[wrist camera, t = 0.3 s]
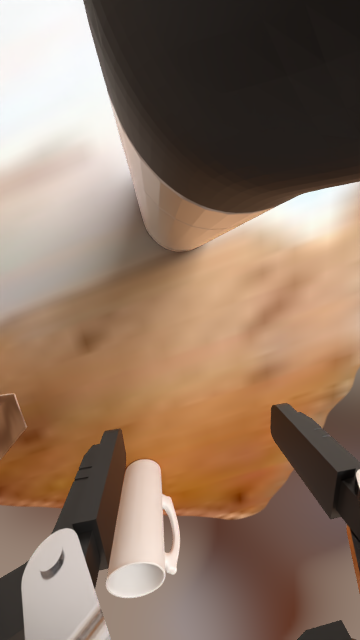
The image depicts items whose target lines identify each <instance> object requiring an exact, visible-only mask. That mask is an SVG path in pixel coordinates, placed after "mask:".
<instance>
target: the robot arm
mask: <svg viewBox="0 0 360 640" xmlns="http://www.w3.org/2000/svg"><path fill="white" fill-rule="evenodd" d="M83 1H84V5H85V9H86V14H87V18H88V22H89V26H90V30H91V33H92V37H93V40H94V44H95V48H96V51H97V55H98V58H99V62H100V66H101V69H102V73H103V76H104V80H105V83H106V86H107V91H108V95H109V98H110V102H111V106H112V109H113V113H114V117H115V120H116V124H117V127H118V131H119V135H120V138H121V142H122V146H123V149H124V152H125V155H126V159H127V163H128V167H129V170H130V174H131V178H132V181H133V185H134V189H135V192H136V196H137V200H138V203H139V207H140V211H141V215H142V218H143V222H144V225H145V227H146V229H147V231H148V233H149V234H150V236H151V237H152V238H153V239H154V241H156V242H157V243H158V244H159V245H160V246H162V247H164V248H166V249H168V250H172V251H177V252H184V251H190V250H193V249H196V248H198V247H200V246H202V245H203V244H205V243H207V242H209V241H211V240H213V239H215V238H216V237H218V236H220V235H222V234H224V233H226V232H228V231H230V230H232V229H234V228H236V227H238V226H240V225H242V224H243V223H245V222H247V221H249V220H251V219H253V218H255V217H257V216H259V215H261V214H263V213H265V212H266V211H268V210H270V209H272V208H274V207H276V206H278V205H280V204H282V203H284V202H286V201H288V200H290V199H292V198H294V197H296V196H298V195H301V194H303V193H307V192H311V191H315V190H320V189H324V188H329V187H334V186H339V185H344V184H349V183H354V182H359V181H360V0H83ZM271 434H272V437H273V439H274V441H275V443H276V444H277V445H278V447H279V448H280V450H281V451H282V452H283V454H284V455H285V457H286V458H287V459H288V461H289V462H290V464H291V465H292V466H293V468H294V469H295V470H296V472H297V473H298V474H299V476H300V477H301V479H302V480H303V481H304V483H305V484H306V486H307V487H308V489H309V490H310V491H311V493H312V494H313V496H314V497H315V498H316V500H317V501H318V503H319V504H320V505H321V507H322V508H323V509H324V511H325V512H326V514H327V515H328V516H329V518H330V519H334V518H338V517H342V518H343V519H344V521H345V522H346V523H347V535H348V539H349V544H350V549H351V554H352V559H353V564H354V569H355V573H356V578H357V583H358V588H359V593H360V462H359V461H358V460H357V459H356V458H355V457H353V456H352V455H351V454H350V453H349V452H348V451H347V450H346V449H345V448H344V447H342V446H341V445H340V444H339V443H338V442H337V441H336V440H335V439H334V438H333V437H330V435H329V434H328V433H327V432H326V431H325V430H324V429H322V428H321V427H320V426H319V425H318V424H317V423H316V422H315V421H314V420H313V419H312V418H310V417H308V416H306V415H305V414H303V413H301V412H297V411H296V410H295V409H294V408H292V407H291V406H290V405H289V404H288V403H284V404H277V405H273V406H272V408H271ZM125 467H126V452H125V446H124V441H123V435H122V430H121V429H114V430H108V431H105V432H104V434H103V436H102V439H101V442H100V444H97V445H93V446H92V447H91V448H90V449H89V451H88V452H87V453H86V454H85V456H84V458H83V460H82V462H81V465H80V467H79V471H78V472H77V475H76V477H75V481H74V482H73V484H72V487H71V489H70V491H69V494H68V496H67V499H66V501H65V504H64V506H63V508H62V511H61V514H60V516H59V518H58V521H57V523H56V525H55V528H54V530H53V532H52V534H51V535H50V536H49V537H48V538H46V539H45V540H44V541H43V542H42V543H41V544H40V545H39V547H38V548H37V549H36V550H35V552H34V553H33V555H32V556H31V558H30V560H29V561H27V562H26V563H25V564H24V565H22V566H20V567H19V568H17V569H15V570H14V571H12V572H10V573H8V574H7V575H5V576H3V577H2V578H0V640H111V638H110V635H109V632H108V629H107V626H106V623H105V619H104V616H103V614H102V611H101V608H100V605H99V602H98V599H97V595H96V592H95V587H96V582H97V577H98V572H99V570H103V569H108V568H109V562H110V557H111V551H112V545H113V539H114V533H115V527H116V521H117V515H118V509H119V503H120V497H121V491H122V485H123V480H124V474H125ZM297 640H355V639H352V638H351V637H350V635H349V633H348V632H347V630H346V628H345V626H344V624H343V622H342V621H341V620H340V621H336V622H333V623H330V624H326V625H323V626H319V627H316V628H312V629H309V630H306V631H305V632H304V633H303V634H302V635H301V636H300V637H299V638H298V639H297Z"/></svg>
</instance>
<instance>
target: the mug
mask: <svg viewBox="0 0 360 640" xmlns="http://www.w3.org/2000/svg"><path fill="white" fill-rule="evenodd" d="M163 509H164V510H165V511H166V513H167V514H168V516H169V519H170V522H171V526H172V533H173V543H172V548H171V551H170V552H169V553H166V552H164V529H163ZM179 547H180V532H179V526H178V521H177V517H176V513H175V510H174V507H173V503H172V500H171V498H170V497H168V496H165V495H163V494H162V483H161V469H160V467H159V465H158V464H157V463H156V462H154V461H152V460H149V459H141V460H137V461H135V462H133V463H131V464H130V465H129V466H128V467H127V469H126V472H125V476H124V481H123V487H122V493H121V498H120V504H119V510H118V516H117V522H116V527H115V533H114V539H113V545H112V551H111V557H110V562H109V568H108V575H107V581H106V588H107V590H108V591H109V592H110V593H111V594H112V595H114V596H117V597H122V598H135V597H140V596H144V595H146V594H149V593H151V592H153V591H155V590H156V589H157V588H158V587H160V586H161V585H162V583H163V582H164V580H165V570H166V572H168V573H170V574H172V575H174V574H175V573H176V571H177V567H176V565H177V560H178V555H179Z"/></svg>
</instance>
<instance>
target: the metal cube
mask: <svg viewBox="0 0 360 640" xmlns="http://www.w3.org/2000/svg"><path fill="white" fill-rule="evenodd" d="M26 428H27V425H26V423H25V420H24V417H23V415H22V412H21V409H20V406H19V404H18V401H17V398H16V396H15V393H12V394H4V395H0V460H1V459H2V457H3V456H4V455H5V454H6V452H7V451H8V450H9V449H10V448H11V446H12V445H13V444H14V443H15V441H16V440H17V439H18V438H19V436H20V435H21V434H22V433H23V432H24V430H25V429H26Z"/></svg>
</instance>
